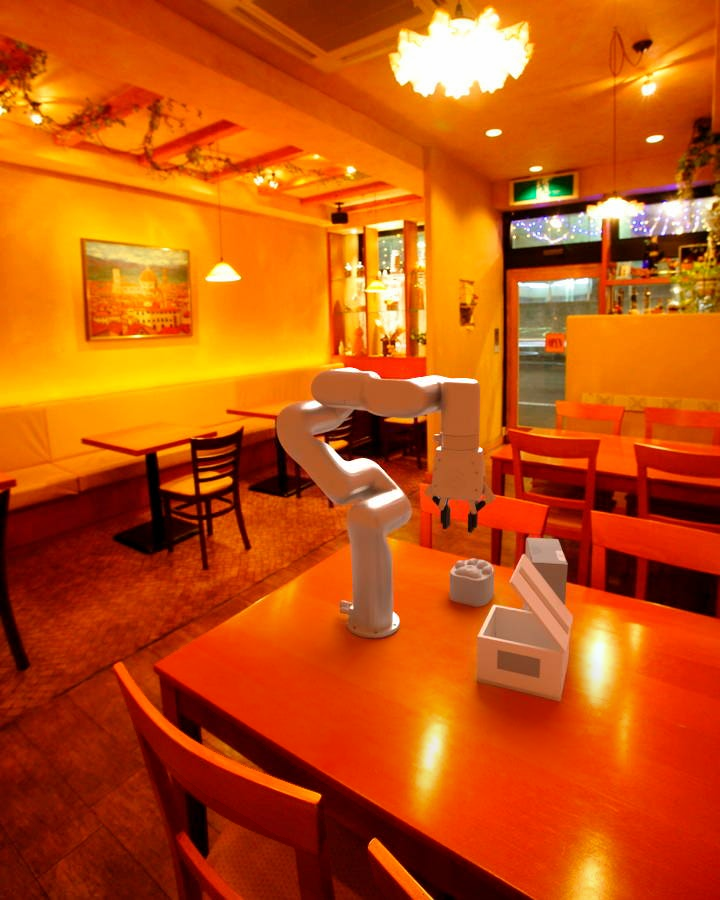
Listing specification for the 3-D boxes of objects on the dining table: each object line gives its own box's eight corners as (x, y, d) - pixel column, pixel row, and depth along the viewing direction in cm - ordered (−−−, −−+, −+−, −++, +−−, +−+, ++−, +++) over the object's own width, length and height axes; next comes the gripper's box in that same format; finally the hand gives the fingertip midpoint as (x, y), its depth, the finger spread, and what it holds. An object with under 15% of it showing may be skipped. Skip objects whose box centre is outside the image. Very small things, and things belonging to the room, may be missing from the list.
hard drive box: (563, 650, 125) (568, 565, 120) (527, 646, 126) (530, 563, 122) (554, 614, 140) (558, 537, 135) (521, 612, 141) (524, 536, 137)
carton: (476, 681, 115) (477, 636, 112) (492, 645, 127) (493, 604, 125) (560, 701, 108) (563, 654, 106) (568, 661, 120) (570, 618, 118)
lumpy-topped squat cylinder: (445, 599, 149) (445, 568, 147) (463, 580, 160) (464, 551, 158) (483, 608, 143) (484, 577, 141) (500, 588, 154) (501, 558, 152)
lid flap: (508, 582, 107) (511, 581, 107) (522, 555, 120) (524, 553, 119) (563, 653, 106) (566, 651, 105) (570, 617, 118) (573, 616, 118)
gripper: (413, 442, 113) (413, 529, 117) (498, 448, 106) (496, 541, 110) (425, 435, 120) (425, 518, 124) (506, 440, 113) (504, 528, 117)
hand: (458, 527), depth 117 cm, fingers open, 4 cm apart
